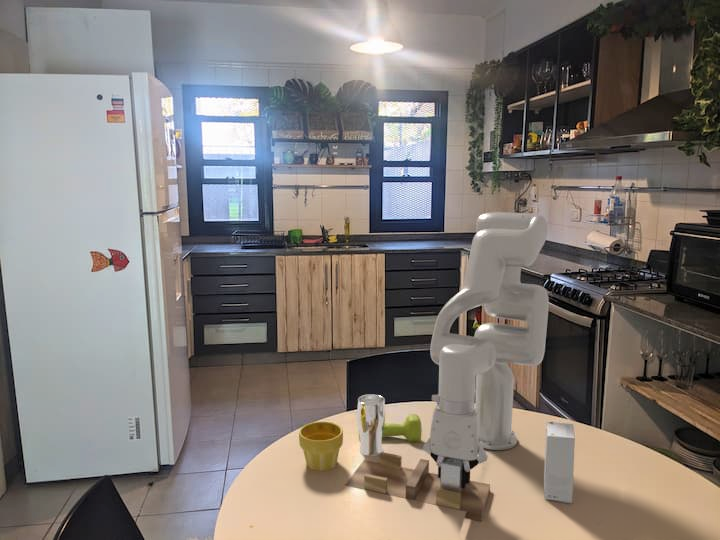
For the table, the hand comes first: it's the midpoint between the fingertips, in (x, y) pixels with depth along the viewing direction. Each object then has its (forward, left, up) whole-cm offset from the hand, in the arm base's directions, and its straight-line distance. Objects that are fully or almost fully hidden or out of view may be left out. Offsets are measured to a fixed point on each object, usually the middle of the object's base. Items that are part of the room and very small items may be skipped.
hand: (453, 482), depth 122 cm
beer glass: (-11, -23, -4) cm, 26 cm away
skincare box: (-11, +21, -4) cm, 24 cm away
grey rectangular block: (0, 0, -1) cm, 1 cm away
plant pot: (-1, -32, -4) cm, 32 cm away
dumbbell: (-20, -21, -4) cm, 29 cm away
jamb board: (0, -8, -4) cm, 9 cm away
